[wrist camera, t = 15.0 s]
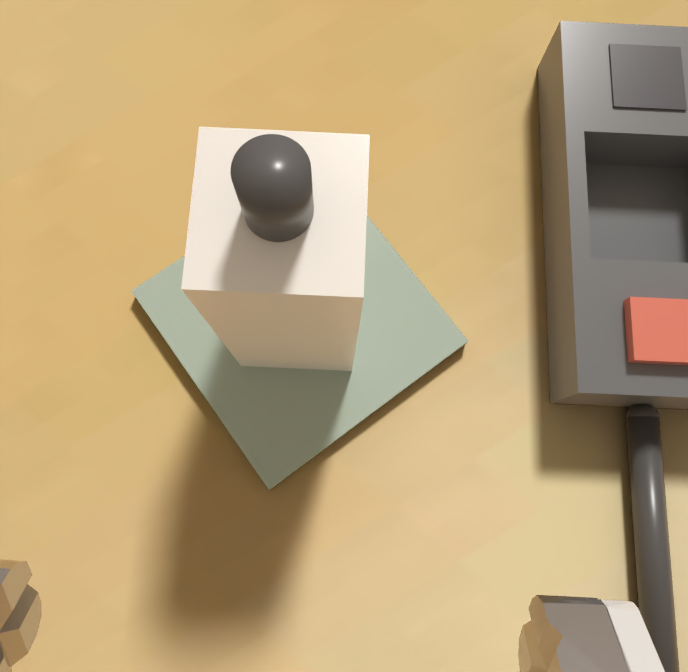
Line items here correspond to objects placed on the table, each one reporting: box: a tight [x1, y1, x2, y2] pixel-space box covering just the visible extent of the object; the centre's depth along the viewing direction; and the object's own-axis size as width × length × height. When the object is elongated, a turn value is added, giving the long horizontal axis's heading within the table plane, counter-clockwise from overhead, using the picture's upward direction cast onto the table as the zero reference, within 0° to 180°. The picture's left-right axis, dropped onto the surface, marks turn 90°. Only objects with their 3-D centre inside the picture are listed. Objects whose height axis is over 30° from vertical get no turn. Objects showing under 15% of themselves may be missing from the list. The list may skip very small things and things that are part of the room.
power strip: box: [538, 21, 688, 672], centre depth 24 cm, size 28×7×4 cm, turn 177°
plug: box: [181, 127, 370, 371], centre depth 19 cm, size 4×4×12 cm
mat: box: [132, 216, 468, 490], centre depth 26 cm, size 10×10×1 cm
